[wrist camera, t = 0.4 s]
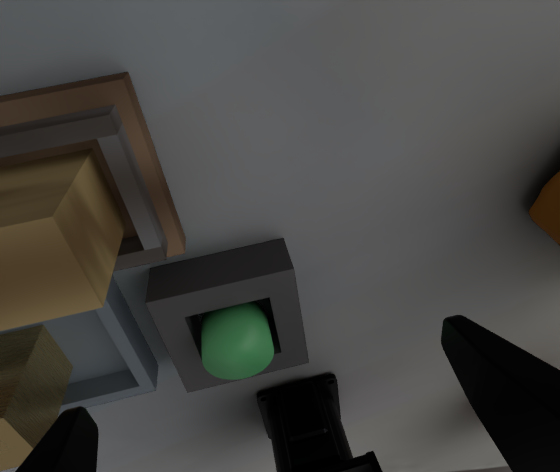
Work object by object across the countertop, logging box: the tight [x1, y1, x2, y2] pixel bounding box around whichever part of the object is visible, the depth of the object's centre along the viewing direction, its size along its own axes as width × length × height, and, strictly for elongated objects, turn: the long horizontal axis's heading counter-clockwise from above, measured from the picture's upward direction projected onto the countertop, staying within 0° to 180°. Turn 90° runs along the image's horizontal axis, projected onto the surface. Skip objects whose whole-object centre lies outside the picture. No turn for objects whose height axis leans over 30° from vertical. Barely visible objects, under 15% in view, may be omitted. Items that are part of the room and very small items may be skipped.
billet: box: [0, 325, 73, 471], centre depth 22 cm, size 4×4×6 cm
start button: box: [201, 301, 274, 380], centre depth 23 cm, size 4×4×3 cm
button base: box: [145, 238, 309, 393], centre depth 24 cm, size 8×8×3 cm
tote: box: [0, 276, 158, 415], centre depth 24 cm, size 9×14×2 cm, turn 99°
